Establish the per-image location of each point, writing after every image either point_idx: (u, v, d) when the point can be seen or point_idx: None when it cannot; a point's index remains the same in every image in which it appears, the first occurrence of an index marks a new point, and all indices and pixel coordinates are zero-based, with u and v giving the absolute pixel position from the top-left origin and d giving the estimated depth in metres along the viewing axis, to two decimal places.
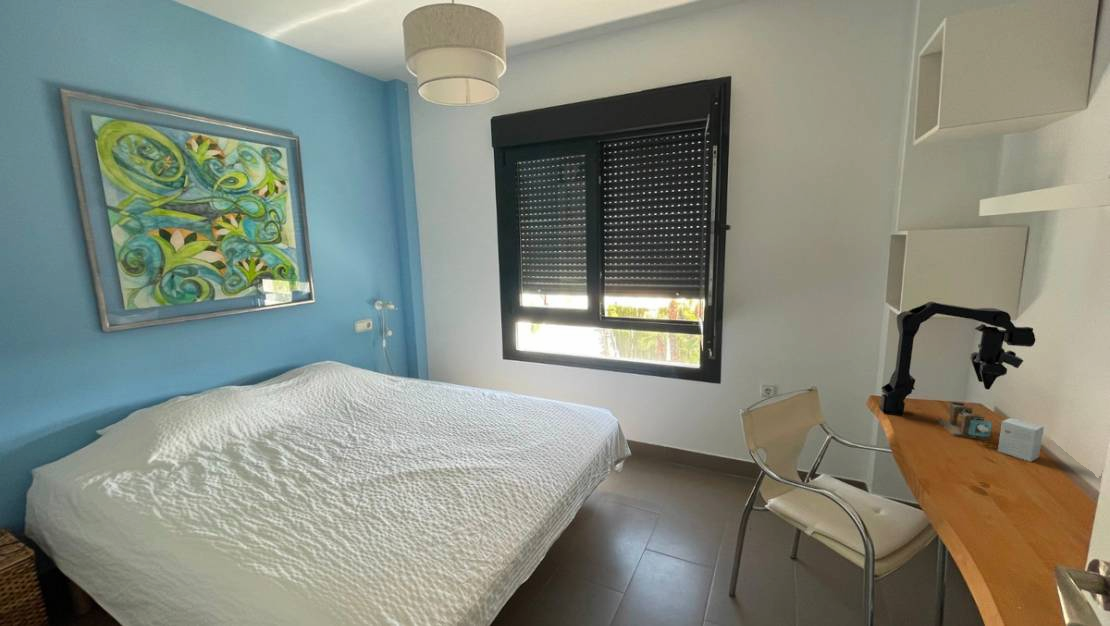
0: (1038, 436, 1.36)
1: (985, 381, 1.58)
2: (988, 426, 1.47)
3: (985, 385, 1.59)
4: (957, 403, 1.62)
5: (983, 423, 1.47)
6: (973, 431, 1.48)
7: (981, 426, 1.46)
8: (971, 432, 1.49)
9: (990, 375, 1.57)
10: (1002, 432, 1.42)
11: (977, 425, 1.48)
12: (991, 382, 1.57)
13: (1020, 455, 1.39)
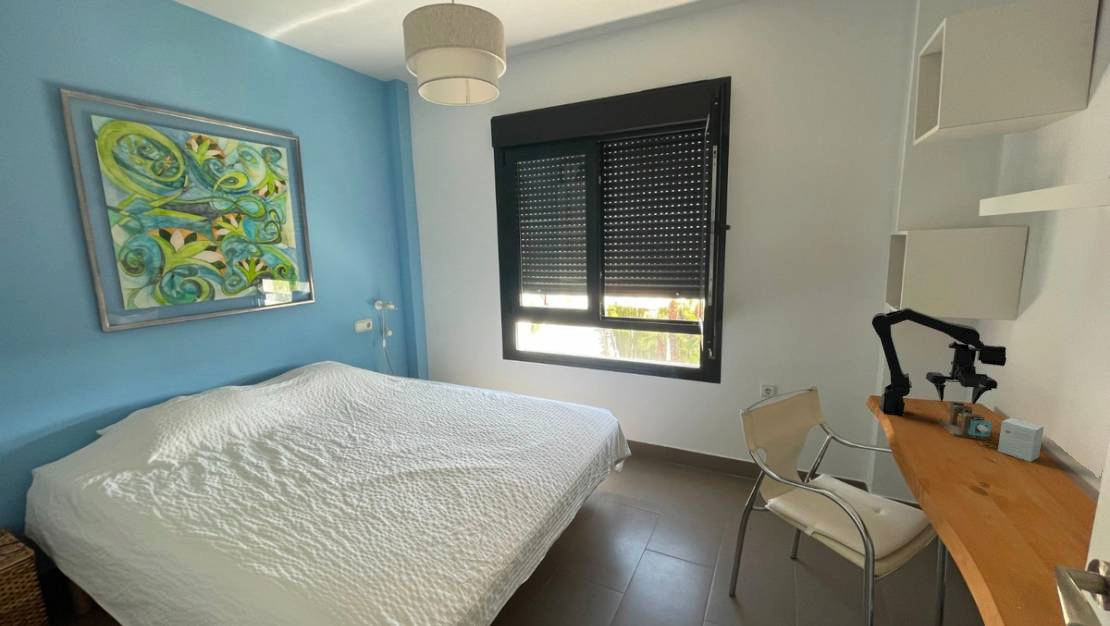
0: (1038, 436, 1.36)
1: (937, 391, 1.65)
2: (988, 426, 1.47)
3: (939, 396, 1.65)
4: (957, 403, 1.62)
5: (983, 423, 1.47)
6: (973, 431, 1.48)
7: (981, 426, 1.46)
8: (971, 432, 1.49)
9: None
10: (1002, 432, 1.42)
11: (977, 425, 1.48)
12: (940, 393, 1.64)
13: (1020, 455, 1.39)
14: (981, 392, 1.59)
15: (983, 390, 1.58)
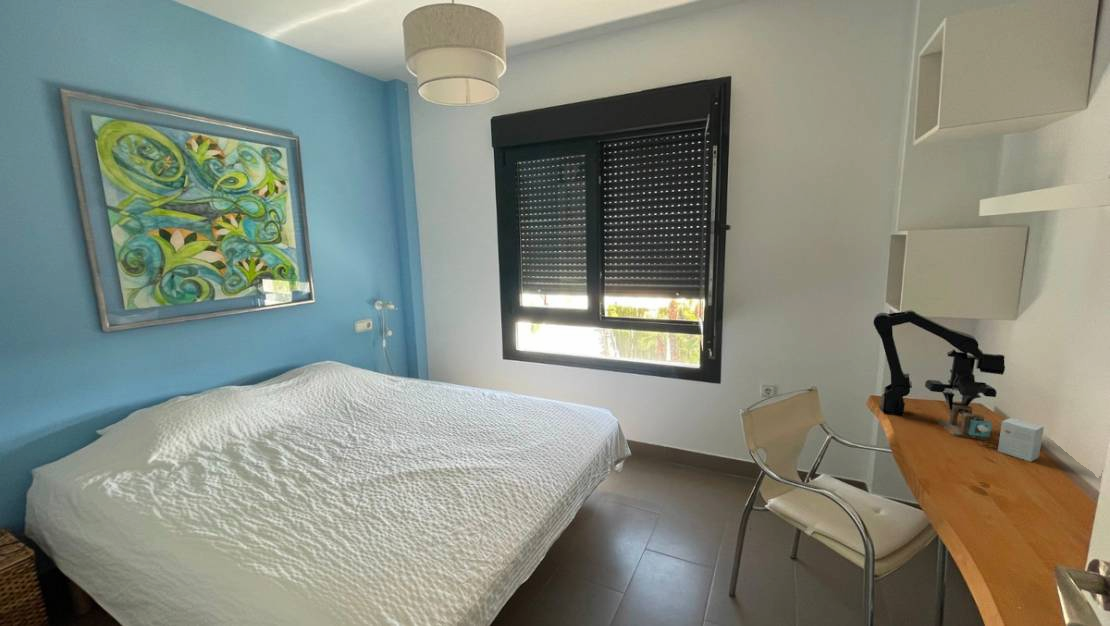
0: (1038, 436, 1.36)
1: (946, 400, 1.65)
2: (988, 426, 1.47)
3: None
4: (957, 403, 1.62)
5: (983, 423, 1.47)
6: (973, 431, 1.48)
7: (981, 426, 1.46)
8: (971, 432, 1.49)
9: None
10: (1002, 432, 1.42)
11: (977, 425, 1.48)
12: (949, 402, 1.63)
13: (1020, 455, 1.39)
14: (970, 399, 1.60)
15: (972, 397, 1.59)
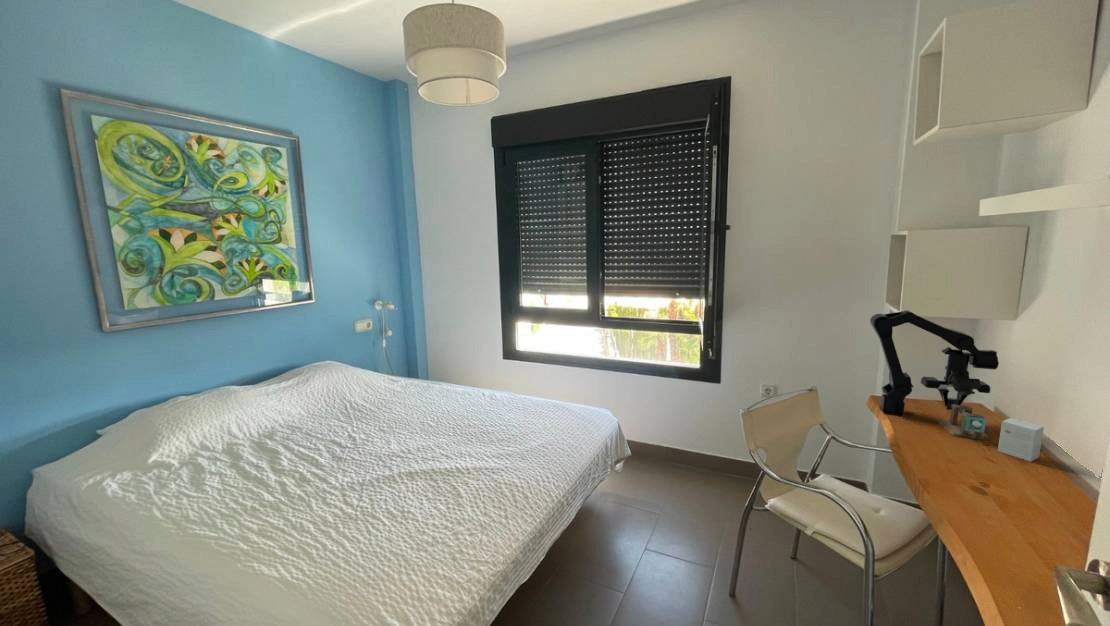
0: (1038, 436, 1.36)
1: (941, 396, 1.69)
2: (983, 422, 1.50)
3: (943, 401, 1.68)
4: (952, 399, 1.66)
5: (978, 419, 1.50)
6: (968, 427, 1.51)
7: (975, 421, 1.50)
8: (966, 428, 1.52)
9: None
10: (1002, 432, 1.42)
11: (971, 420, 1.52)
12: (944, 398, 1.67)
13: (1020, 455, 1.39)
14: (965, 395, 1.64)
15: (967, 393, 1.63)
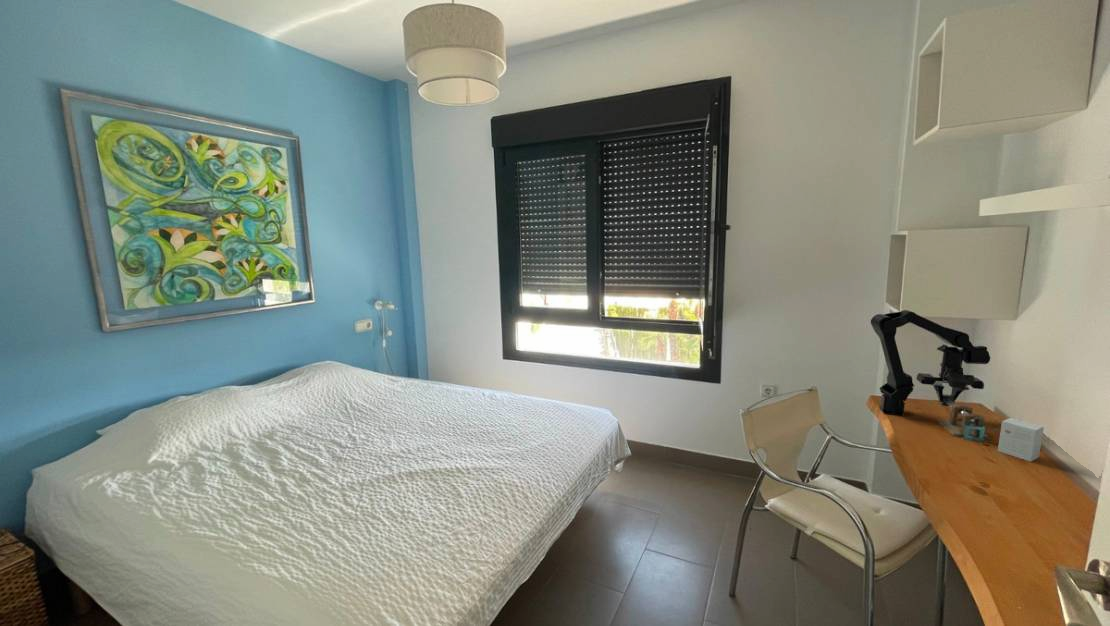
0: (1038, 436, 1.36)
1: (936, 392, 1.73)
2: (981, 431, 1.50)
3: (938, 397, 1.72)
4: (947, 396, 1.69)
5: (977, 428, 1.50)
6: (967, 435, 1.52)
7: None
8: (965, 436, 1.52)
9: None
10: (1002, 432, 1.42)
11: None
12: (939, 394, 1.71)
13: (1020, 455, 1.39)
14: (959, 391, 1.68)
15: (961, 389, 1.67)
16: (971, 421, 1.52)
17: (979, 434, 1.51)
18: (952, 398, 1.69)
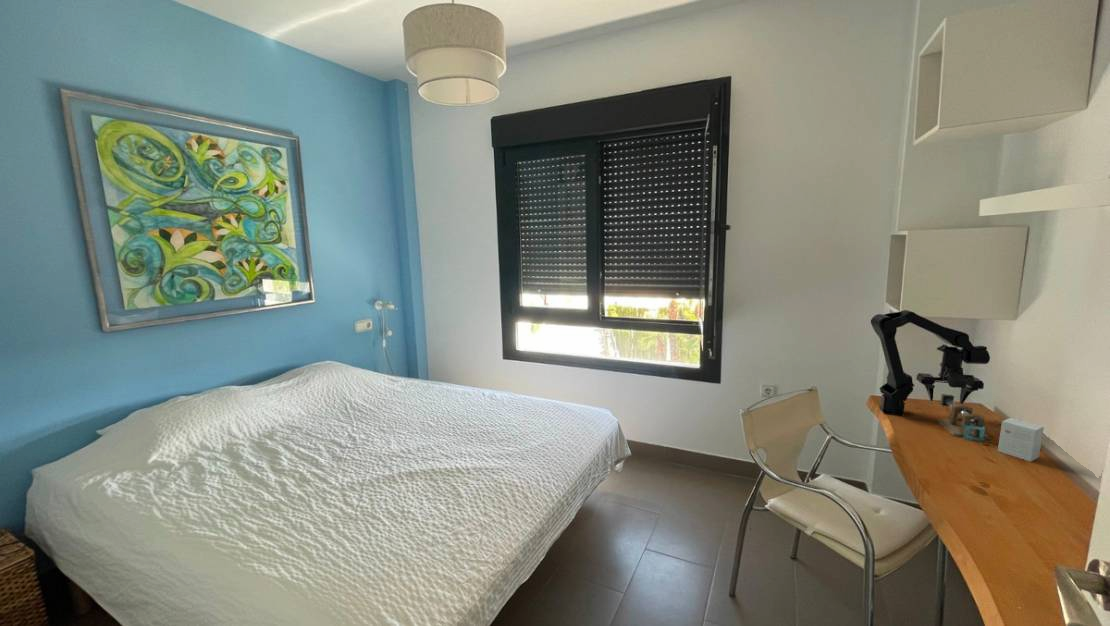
0: (1038, 436, 1.36)
1: (927, 392, 1.74)
2: (981, 431, 1.50)
3: (929, 396, 1.74)
4: (947, 395, 1.70)
5: (977, 428, 1.51)
6: (967, 435, 1.52)
7: None
8: (965, 436, 1.52)
9: None
10: (1002, 432, 1.42)
11: None
12: (930, 393, 1.72)
13: (1020, 455, 1.39)
14: (968, 392, 1.67)
15: (970, 390, 1.66)
16: (971, 421, 1.53)
17: (979, 434, 1.51)
18: (952, 398, 1.69)
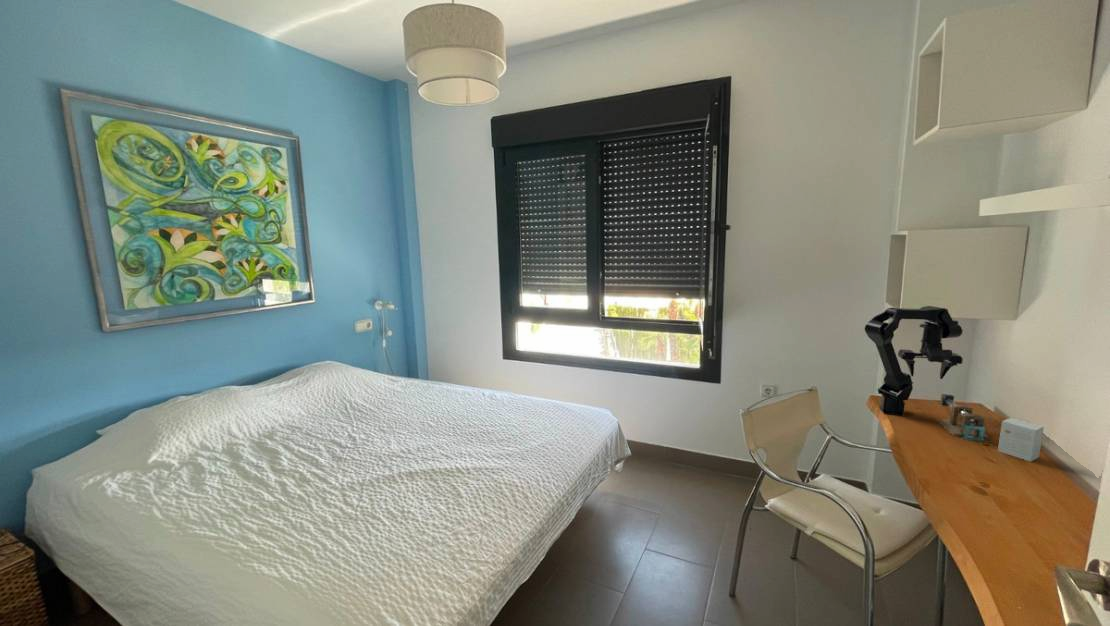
0: (1038, 436, 1.36)
1: (908, 367, 1.78)
2: (981, 431, 1.50)
3: (910, 371, 1.78)
4: (947, 395, 1.70)
5: (977, 428, 1.50)
6: (967, 435, 1.52)
7: None
8: (965, 436, 1.52)
9: None
10: (1002, 432, 1.42)
11: None
12: (910, 369, 1.77)
13: (1020, 455, 1.39)
14: (948, 367, 1.71)
15: (949, 365, 1.70)
16: (971, 421, 1.53)
17: (979, 434, 1.51)
18: (952, 398, 1.69)
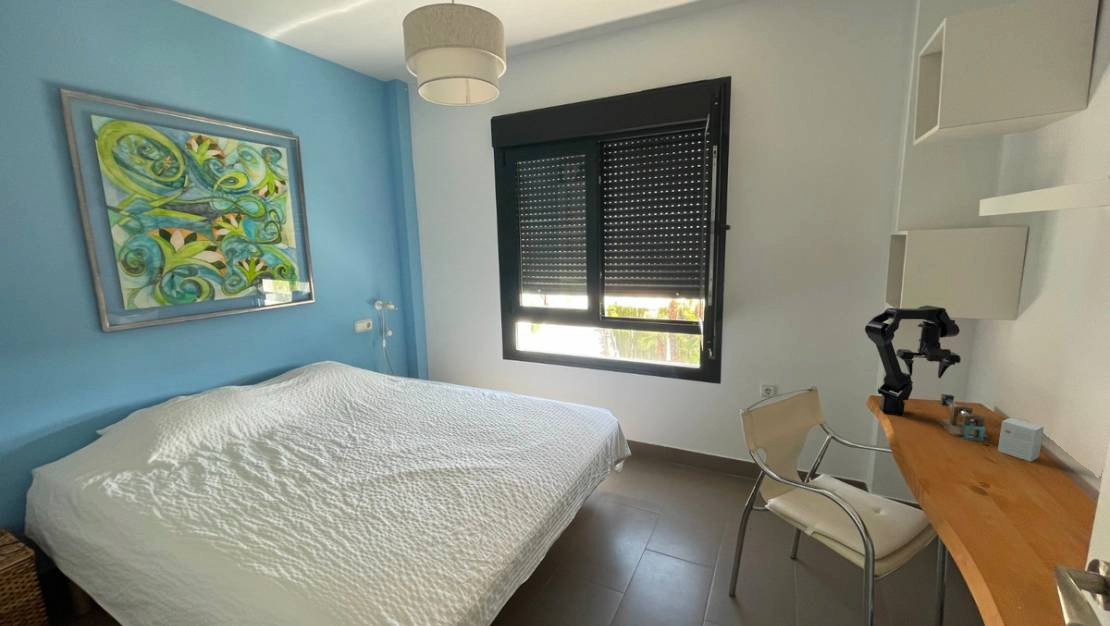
0: (1038, 436, 1.36)
1: (907, 367, 1.79)
2: (981, 431, 1.50)
3: (908, 371, 1.79)
4: (947, 395, 1.70)
5: (977, 428, 1.50)
6: (967, 435, 1.52)
7: None
8: (965, 436, 1.52)
9: None
10: (1002, 432, 1.42)
11: None
12: (909, 368, 1.77)
13: (1020, 455, 1.39)
14: (946, 366, 1.72)
15: (948, 364, 1.71)
16: (971, 421, 1.53)
17: (979, 434, 1.51)
18: (952, 398, 1.69)
